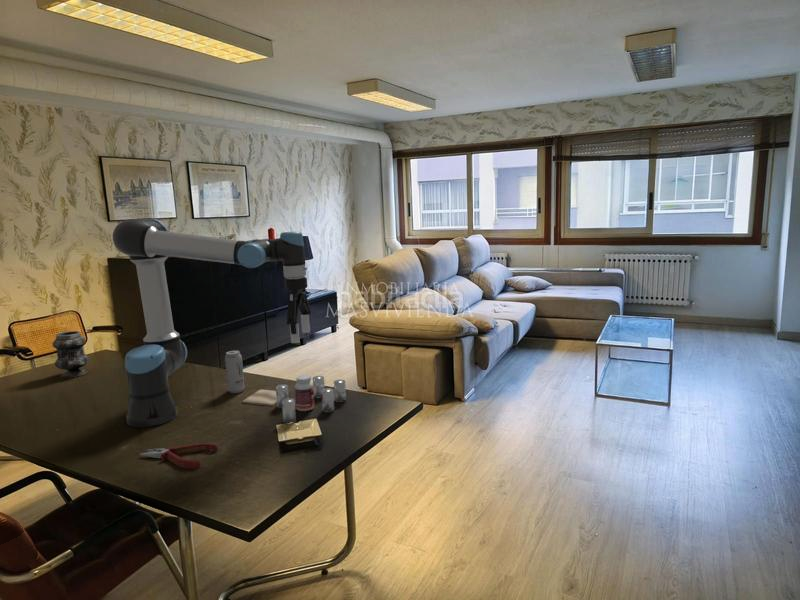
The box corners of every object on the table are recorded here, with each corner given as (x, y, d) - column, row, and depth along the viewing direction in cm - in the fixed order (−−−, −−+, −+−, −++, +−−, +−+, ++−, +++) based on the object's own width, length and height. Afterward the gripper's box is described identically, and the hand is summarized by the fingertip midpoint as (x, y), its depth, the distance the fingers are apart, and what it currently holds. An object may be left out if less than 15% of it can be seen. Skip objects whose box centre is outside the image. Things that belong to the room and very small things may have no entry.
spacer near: (292, 424, 163) (290, 403, 161) (281, 423, 164) (279, 402, 163) (298, 419, 167) (297, 398, 165) (287, 418, 168) (285, 397, 166)
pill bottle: (316, 409, 174) (314, 378, 172) (297, 412, 172) (295, 381, 170) (312, 403, 179) (310, 373, 177) (294, 406, 177) (292, 375, 175)
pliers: (156, 446, 151) (155, 438, 151) (220, 450, 148) (219, 442, 147) (130, 466, 140) (128, 457, 140) (198, 471, 137) (197, 462, 136)
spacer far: (322, 398, 183) (321, 379, 182) (311, 397, 185) (310, 379, 183) (326, 394, 187) (325, 376, 186) (316, 393, 188) (315, 375, 187)
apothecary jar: (96, 369, 224) (90, 328, 221) (81, 378, 212) (74, 336, 209) (67, 370, 223) (60, 330, 220) (50, 379, 212) (43, 337, 208)
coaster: (272, 406, 178) (272, 404, 178) (242, 403, 181) (241, 401, 181) (289, 393, 189) (289, 391, 189) (260, 390, 193) (260, 389, 193)
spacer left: (285, 408, 176) (284, 389, 174) (274, 407, 177) (273, 388, 175) (291, 404, 179) (289, 384, 178) (280, 403, 180) (279, 384, 179)
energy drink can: (240, 394, 190) (236, 354, 187) (224, 393, 191) (221, 354, 188) (247, 388, 196) (244, 350, 193) (232, 387, 197) (229, 349, 194)
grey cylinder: (343, 403, 179) (342, 383, 178) (332, 402, 180) (331, 382, 179) (347, 398, 183) (347, 379, 181) (337, 397, 184) (336, 379, 183)
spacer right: (331, 413, 171) (330, 393, 169) (320, 412, 172) (319, 392, 170) (336, 408, 174) (335, 388, 173) (325, 407, 176) (324, 387, 174)
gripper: (295, 282, 164) (301, 347, 168) (315, 271, 188) (320, 328, 192) (272, 283, 165) (279, 347, 169) (295, 272, 189) (300, 328, 193)
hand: (301, 337), depth 181 cm, fingers open, 13 cm apart
